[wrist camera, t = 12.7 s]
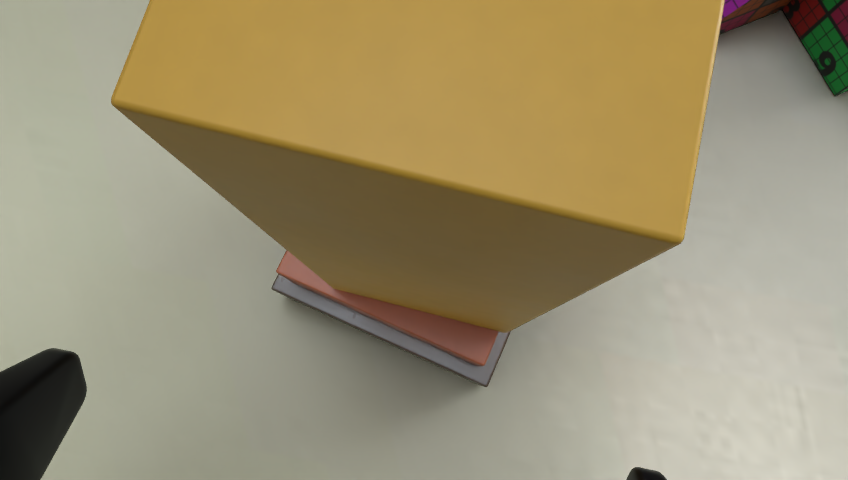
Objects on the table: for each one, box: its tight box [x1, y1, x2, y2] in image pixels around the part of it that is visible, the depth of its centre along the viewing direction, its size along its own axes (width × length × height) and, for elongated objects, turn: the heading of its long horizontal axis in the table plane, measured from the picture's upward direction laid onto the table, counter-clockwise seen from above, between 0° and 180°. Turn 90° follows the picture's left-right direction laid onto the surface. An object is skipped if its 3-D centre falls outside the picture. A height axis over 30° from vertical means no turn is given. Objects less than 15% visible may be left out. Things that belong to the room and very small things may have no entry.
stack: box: [272, 250, 510, 387], centre depth 21 cm, size 8×8×4 cm
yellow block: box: [111, 0, 725, 333], centre depth 12 cm, size 6×6×13 cm
